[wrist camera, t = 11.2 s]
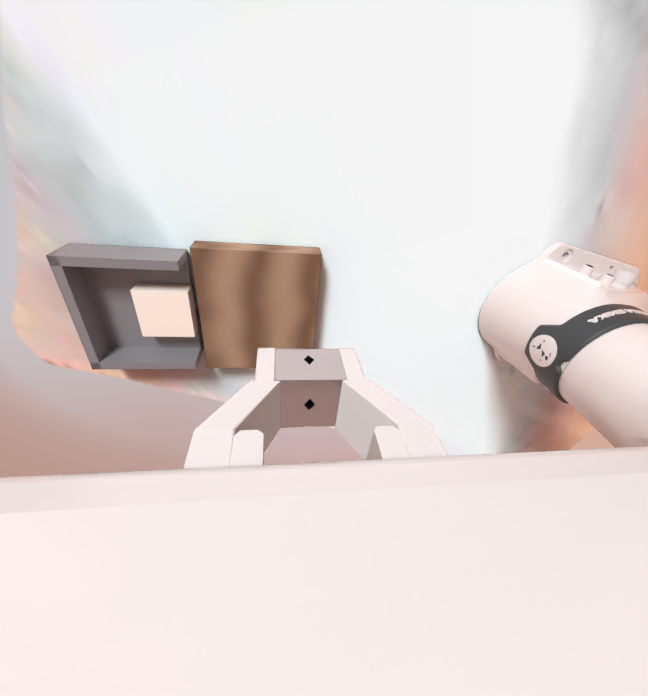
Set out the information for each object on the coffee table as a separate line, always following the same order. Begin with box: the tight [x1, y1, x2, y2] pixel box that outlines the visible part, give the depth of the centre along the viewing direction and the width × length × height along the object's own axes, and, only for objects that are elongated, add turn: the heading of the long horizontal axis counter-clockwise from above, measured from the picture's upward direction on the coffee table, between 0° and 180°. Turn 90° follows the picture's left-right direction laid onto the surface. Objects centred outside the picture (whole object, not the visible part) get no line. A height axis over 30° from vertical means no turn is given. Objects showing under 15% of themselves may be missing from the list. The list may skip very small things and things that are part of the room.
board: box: [190, 241, 322, 368], centre depth 40 cm, size 14×16×2 cm
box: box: [46, 243, 202, 369], centre depth 37 cm, size 12×14×4 cm
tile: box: [130, 283, 198, 337], centre depth 38 cm, size 6×6×2 cm
